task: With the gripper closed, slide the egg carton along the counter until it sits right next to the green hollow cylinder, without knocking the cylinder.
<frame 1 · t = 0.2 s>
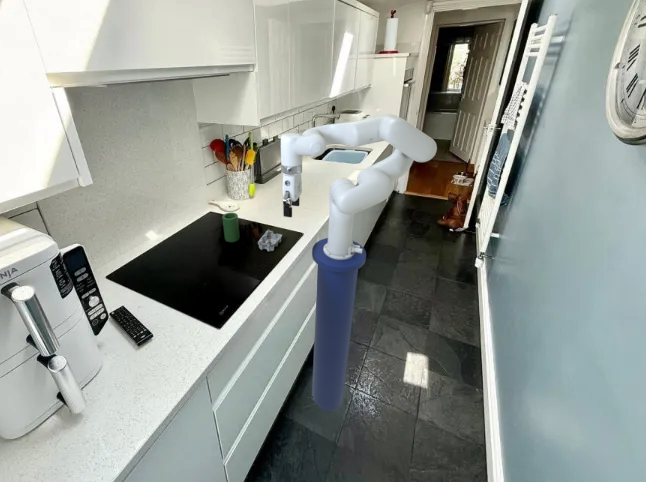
hand: (291, 210, 118), 17 cm above the worktop, tool pointing down, fingers open, 9 cm apart
egg carton: (270, 244, 129), on the worktop
green hollow cylinder: (232, 238, 134), on the worktop
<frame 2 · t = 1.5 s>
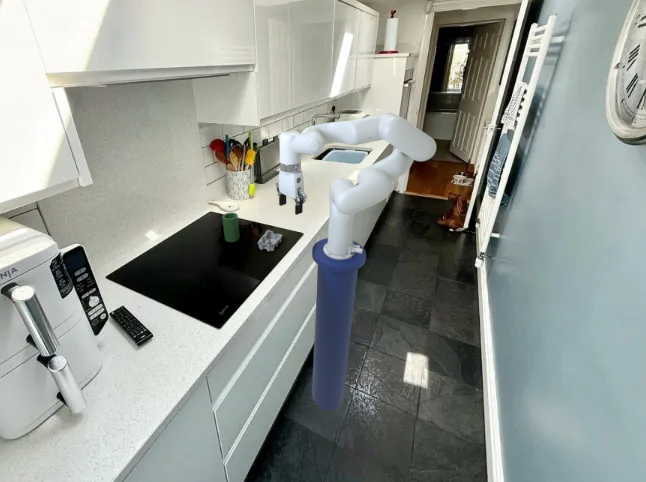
hand: (290, 209, 118), 18 cm above the worktop, tool pointing down, fingers open, 9 cm apart
nothing on the worktop moved.
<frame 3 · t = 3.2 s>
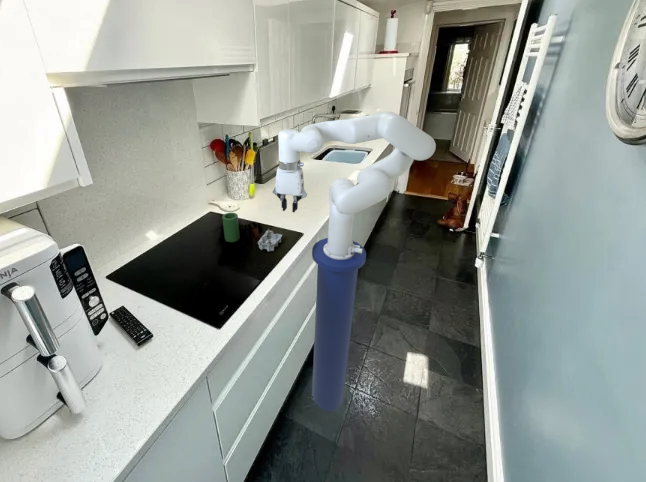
hand: (289, 209, 119), 17 cm above the worktop, tool pointing down, fingers open, 3 cm apart
nothing on the worktop moved.
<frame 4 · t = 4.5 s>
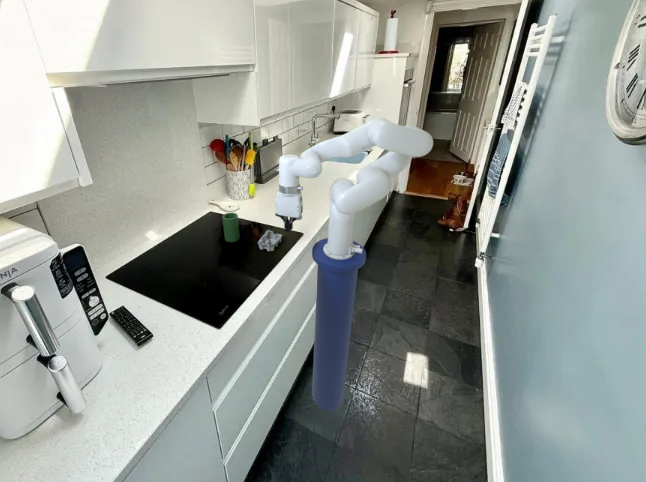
hand: (288, 230, 123), 8 cm above the worktop, tool pointing down, fingers closed
nothing on the worktop moved.
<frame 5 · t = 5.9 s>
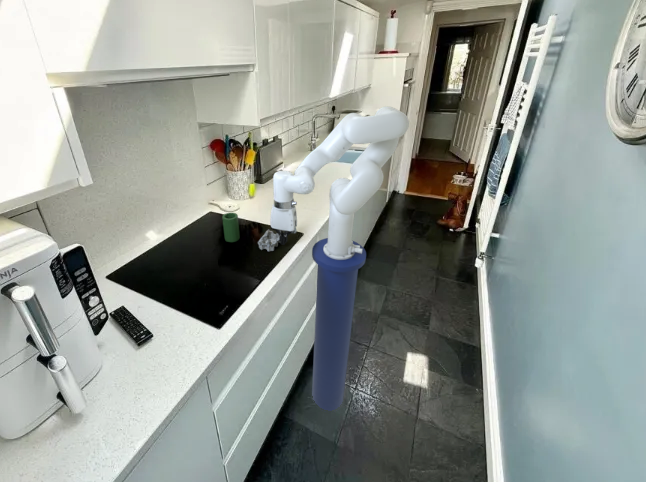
hand: (283, 243, 127), 2 cm above the worktop, tool pointing down, fingers closed
egg carton: (270, 244, 129), on the worktop, touching gripper
everything else where it was.
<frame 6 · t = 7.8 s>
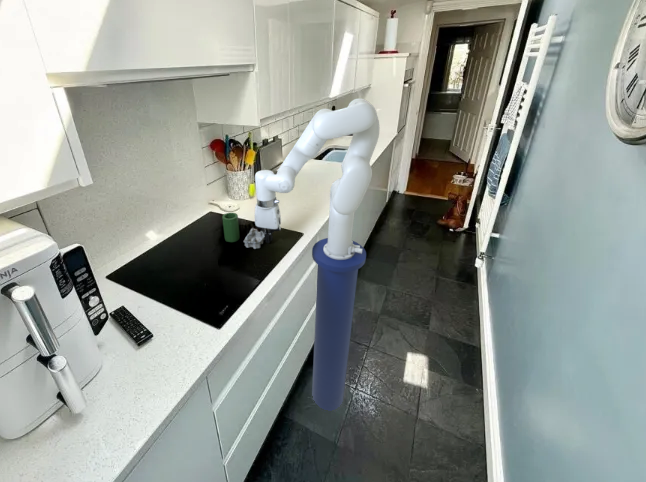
hand: (268, 241, 129), 1 cm above the worktop, tool pointing down, fingers closed
egg carton: (255, 242, 131), on the worktop, touching gripper
everything else where it was.
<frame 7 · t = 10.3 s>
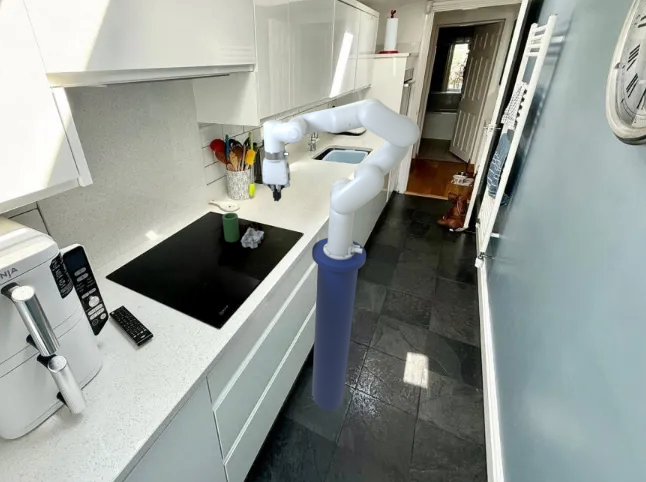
hand: (277, 199, 122), 20 cm above the worktop, tool pointing down, fingers closed
egg carton: (253, 242, 131), on the worktop
everything else where it was.
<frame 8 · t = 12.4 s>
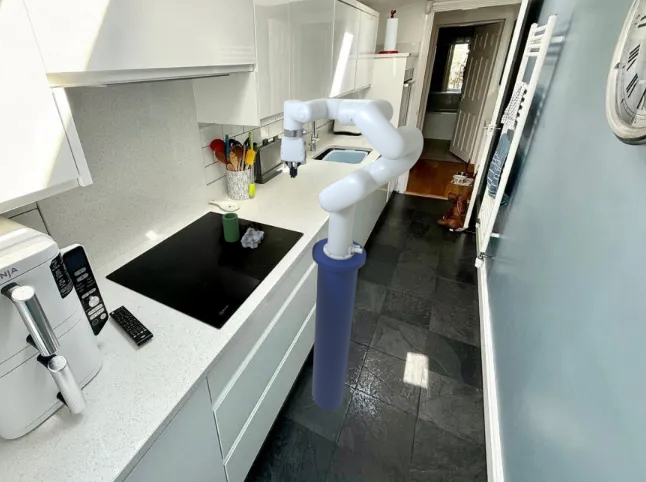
hand: (293, 176, 129), 25 cm above the worktop, tool pointing down, fingers closed
nothing on the worktop moved.
at the end: egg carton 9.9 cm from the green hollow cylinder (horizontally); egg carton moved 7.8 cm from its start; green hollow cylinder moved 0.0 cm from its start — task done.
